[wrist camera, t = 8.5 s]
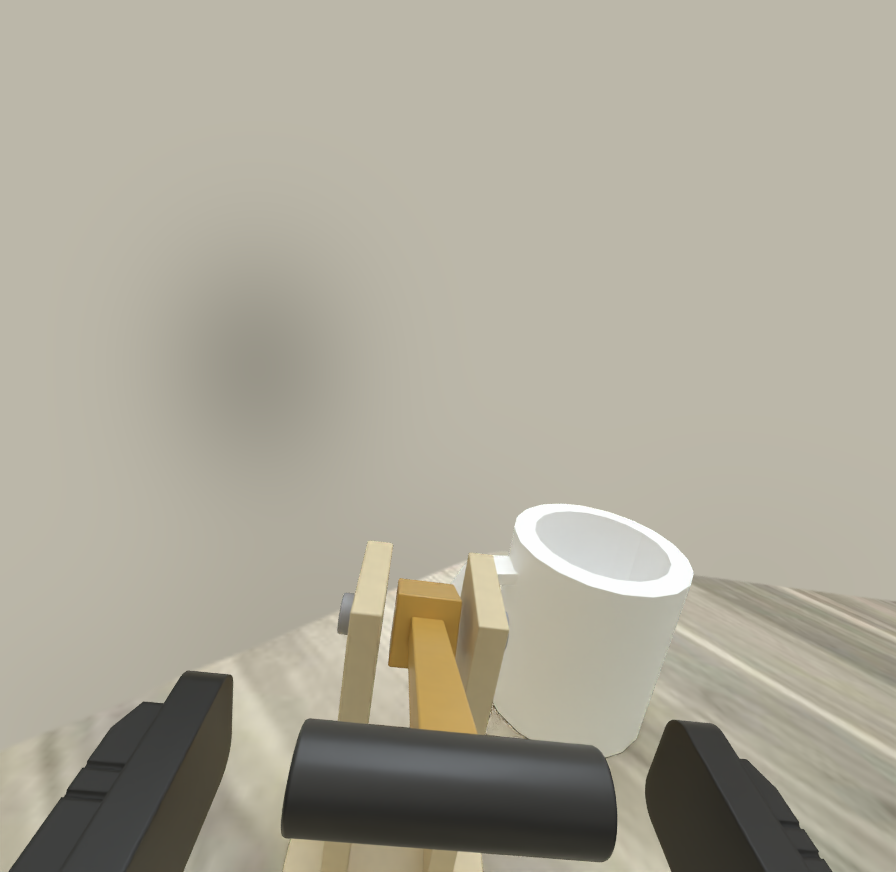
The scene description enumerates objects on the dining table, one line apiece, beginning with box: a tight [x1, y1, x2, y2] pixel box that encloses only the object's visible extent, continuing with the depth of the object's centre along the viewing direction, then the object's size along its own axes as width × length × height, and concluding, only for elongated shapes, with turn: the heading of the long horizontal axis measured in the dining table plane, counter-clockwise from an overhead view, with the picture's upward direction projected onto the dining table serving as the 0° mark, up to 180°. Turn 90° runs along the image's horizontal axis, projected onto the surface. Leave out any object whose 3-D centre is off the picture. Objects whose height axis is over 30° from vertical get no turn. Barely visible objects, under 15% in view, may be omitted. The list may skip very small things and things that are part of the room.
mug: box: [451, 504, 694, 757], centre depth 30 cm, size 14×10×11 cm
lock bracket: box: [282, 541, 509, 872], centre depth 19 cm, size 10×8×14 cm
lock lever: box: [281, 578, 617, 862], centre depth 13 cm, size 12×5×2 cm, turn 2°
